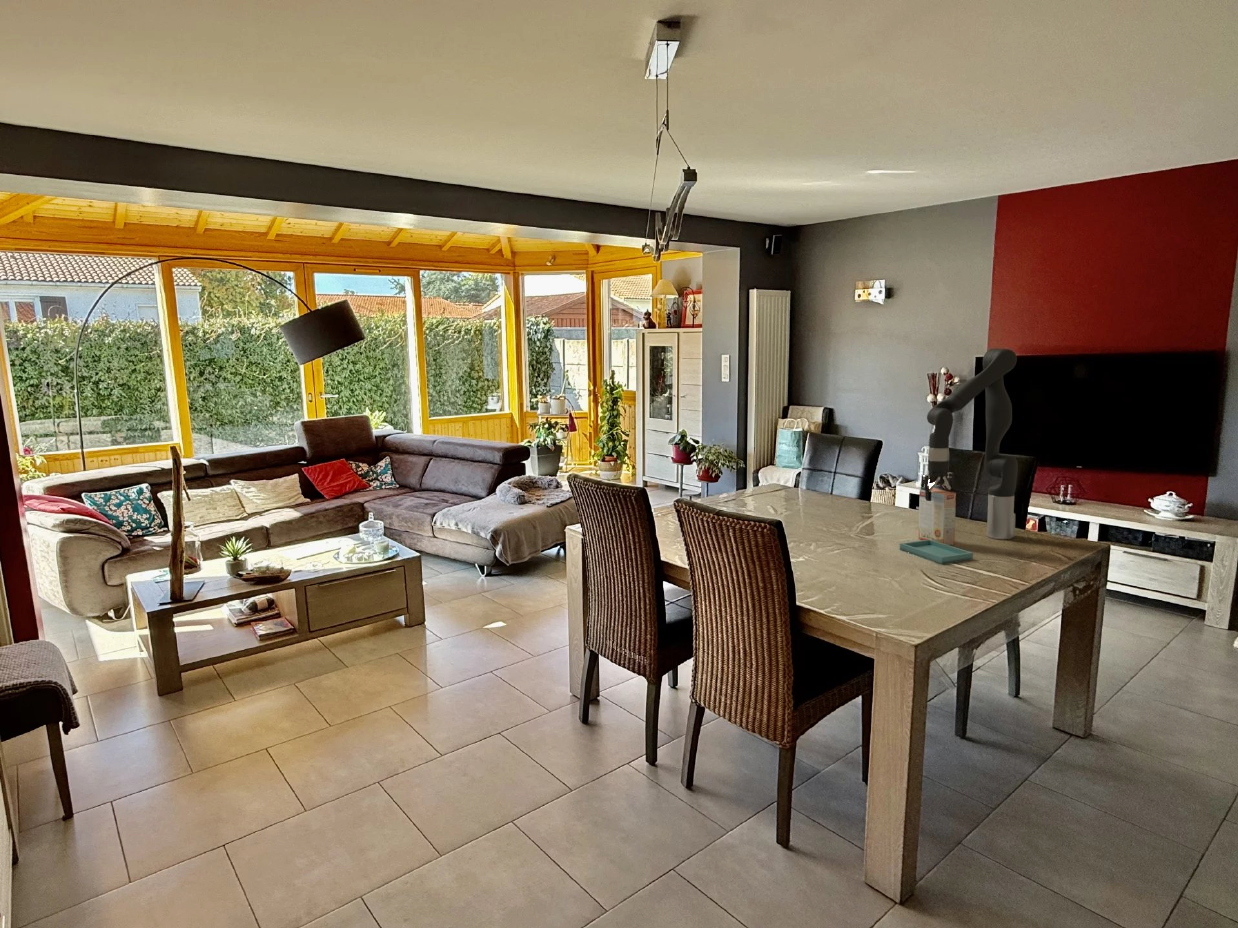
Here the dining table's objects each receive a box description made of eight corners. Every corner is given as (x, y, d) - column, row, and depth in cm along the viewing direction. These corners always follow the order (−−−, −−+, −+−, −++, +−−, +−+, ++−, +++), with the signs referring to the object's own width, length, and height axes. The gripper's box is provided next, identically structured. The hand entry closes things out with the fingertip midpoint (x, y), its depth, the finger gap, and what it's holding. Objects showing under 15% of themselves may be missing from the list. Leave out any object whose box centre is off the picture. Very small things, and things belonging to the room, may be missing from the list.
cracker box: (955, 545, 286) (956, 492, 283) (942, 547, 284) (944, 494, 281) (930, 537, 299) (931, 486, 296) (917, 538, 297) (918, 488, 294)
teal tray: (929, 545, 287) (929, 539, 287) (972, 559, 266) (972, 552, 266) (899, 549, 283) (899, 543, 282) (941, 564, 262) (941, 557, 262)
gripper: (946, 456, 293) (944, 496, 295) (916, 459, 288) (915, 499, 290) (960, 458, 286) (958, 499, 288) (930, 461, 281) (929, 503, 283)
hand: (937, 499), depth 289 cm, fingers open, 8 cm apart
